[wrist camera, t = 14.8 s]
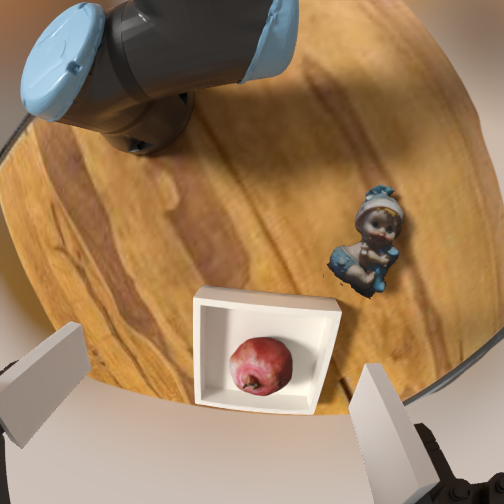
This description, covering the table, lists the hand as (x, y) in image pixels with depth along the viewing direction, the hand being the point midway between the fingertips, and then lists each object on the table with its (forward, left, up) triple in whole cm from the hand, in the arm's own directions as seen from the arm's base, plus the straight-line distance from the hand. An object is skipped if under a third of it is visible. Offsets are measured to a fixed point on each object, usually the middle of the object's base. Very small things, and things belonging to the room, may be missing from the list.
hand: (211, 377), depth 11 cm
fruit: (+12, -12, -28) cm, 33 cm away
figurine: (+11, +12, -29) cm, 33 cm away
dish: (+12, -12, -29) cm, 33 cm away
